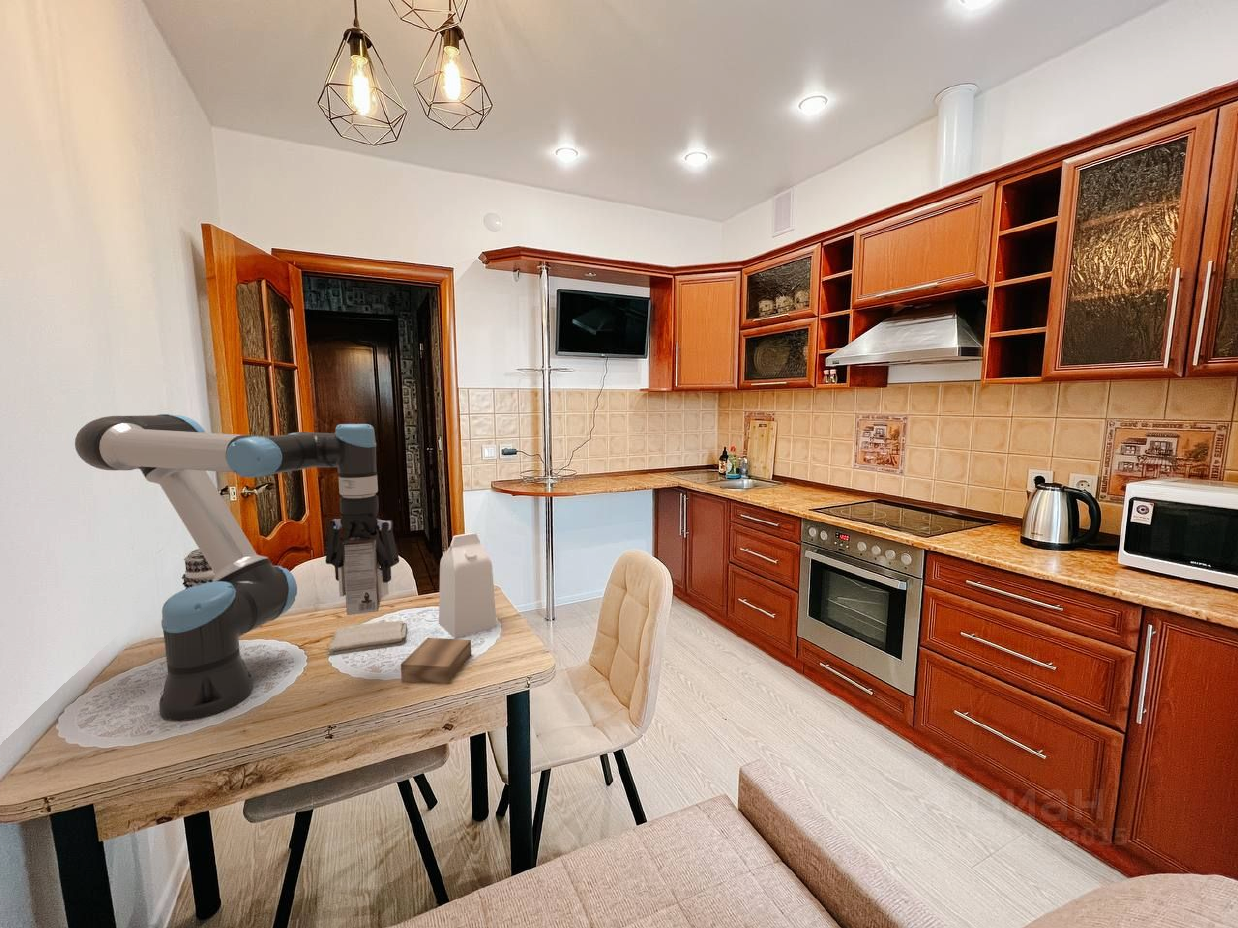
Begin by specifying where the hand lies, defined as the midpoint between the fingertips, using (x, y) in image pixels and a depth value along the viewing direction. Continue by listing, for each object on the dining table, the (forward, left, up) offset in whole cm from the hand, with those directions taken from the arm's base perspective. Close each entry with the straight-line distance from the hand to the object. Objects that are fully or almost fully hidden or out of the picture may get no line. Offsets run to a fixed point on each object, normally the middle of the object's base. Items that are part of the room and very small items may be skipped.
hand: (364, 594), depth 113 cm
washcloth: (-10, +17, -20) cm, 28 cm away
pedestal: (+14, +5, -19) cm, 24 cm away
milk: (+12, +28, -19) cm, 36 cm away
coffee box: (0, 0, -3) cm, 3 cm away
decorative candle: (-48, +10, -19) cm, 53 cm away
